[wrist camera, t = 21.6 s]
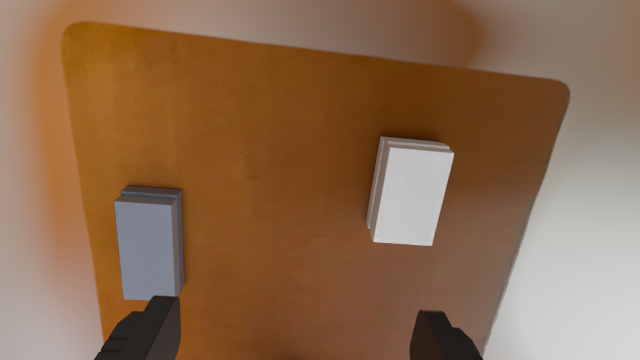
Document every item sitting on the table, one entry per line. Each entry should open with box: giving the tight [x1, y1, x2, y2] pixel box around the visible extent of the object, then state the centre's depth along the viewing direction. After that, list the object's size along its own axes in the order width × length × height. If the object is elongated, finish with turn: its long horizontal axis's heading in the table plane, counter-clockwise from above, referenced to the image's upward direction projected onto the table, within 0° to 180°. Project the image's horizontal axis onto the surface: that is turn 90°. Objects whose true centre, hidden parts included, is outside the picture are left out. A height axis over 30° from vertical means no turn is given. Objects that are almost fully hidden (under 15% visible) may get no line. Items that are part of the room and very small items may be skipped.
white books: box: [366, 136, 449, 230], centre depth 37 cm, size 10×6×3 cm, turn 174°
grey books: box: [114, 186, 184, 300], centre depth 38 cm, size 12×6×3 cm, turn 174°
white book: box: [371, 143, 454, 246], centre depth 35 cm, size 10×6×2 cm, turn 174°
